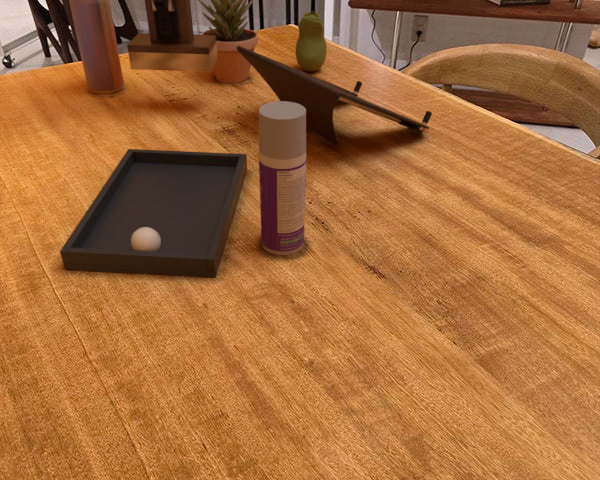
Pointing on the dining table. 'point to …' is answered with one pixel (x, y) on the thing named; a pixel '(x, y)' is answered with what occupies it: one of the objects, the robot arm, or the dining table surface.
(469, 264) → the dining table surface
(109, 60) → the beverage can
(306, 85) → the laptop stand
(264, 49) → the dining table surface
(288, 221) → the container
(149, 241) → the white ball
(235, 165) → the tray
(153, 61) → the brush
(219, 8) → the potted plant
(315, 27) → the pear
